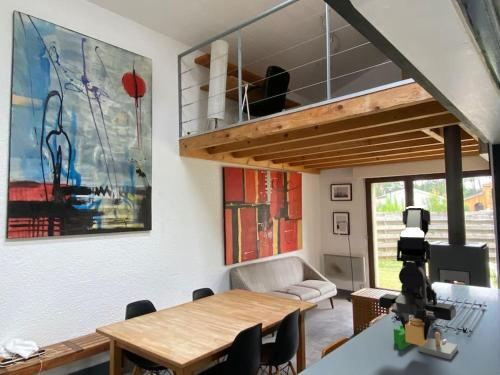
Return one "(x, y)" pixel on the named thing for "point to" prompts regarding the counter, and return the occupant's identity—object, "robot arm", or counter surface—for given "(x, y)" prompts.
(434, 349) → the plate
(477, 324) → the counter surface
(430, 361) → the counter surface
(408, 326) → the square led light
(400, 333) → the pipe clamp
